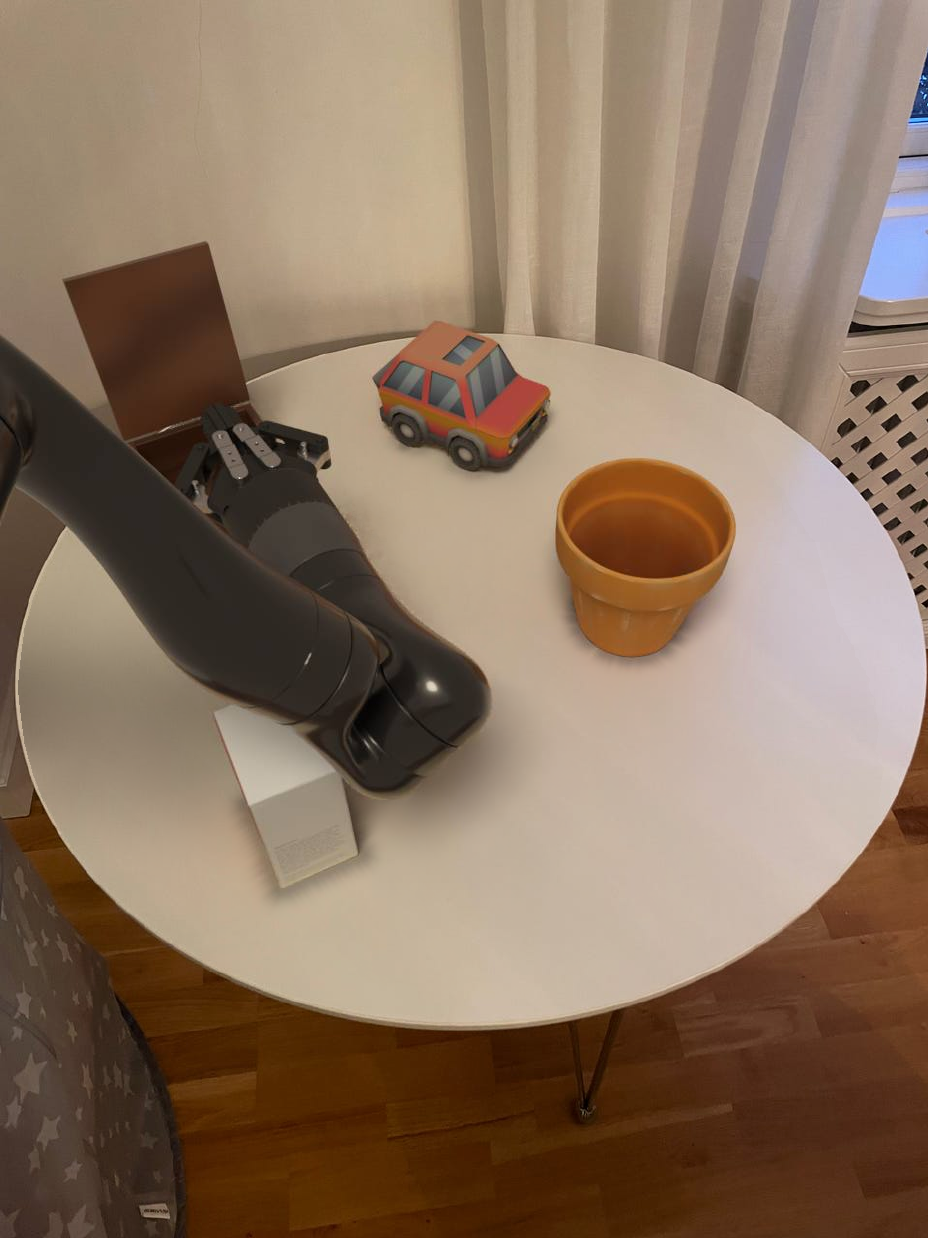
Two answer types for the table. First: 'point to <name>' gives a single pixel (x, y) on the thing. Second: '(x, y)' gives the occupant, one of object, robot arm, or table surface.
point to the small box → (288, 795)
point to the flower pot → (640, 549)
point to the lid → (159, 338)
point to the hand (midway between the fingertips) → (213, 413)
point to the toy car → (461, 397)
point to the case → (183, 446)
